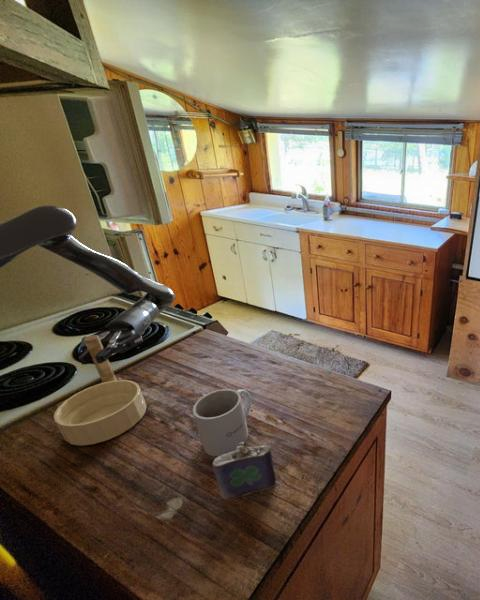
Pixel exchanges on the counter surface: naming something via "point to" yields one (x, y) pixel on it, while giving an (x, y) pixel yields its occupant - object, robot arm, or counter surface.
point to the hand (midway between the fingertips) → (90, 360)
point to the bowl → (100, 412)
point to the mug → (222, 420)
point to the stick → (102, 368)
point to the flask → (244, 471)
